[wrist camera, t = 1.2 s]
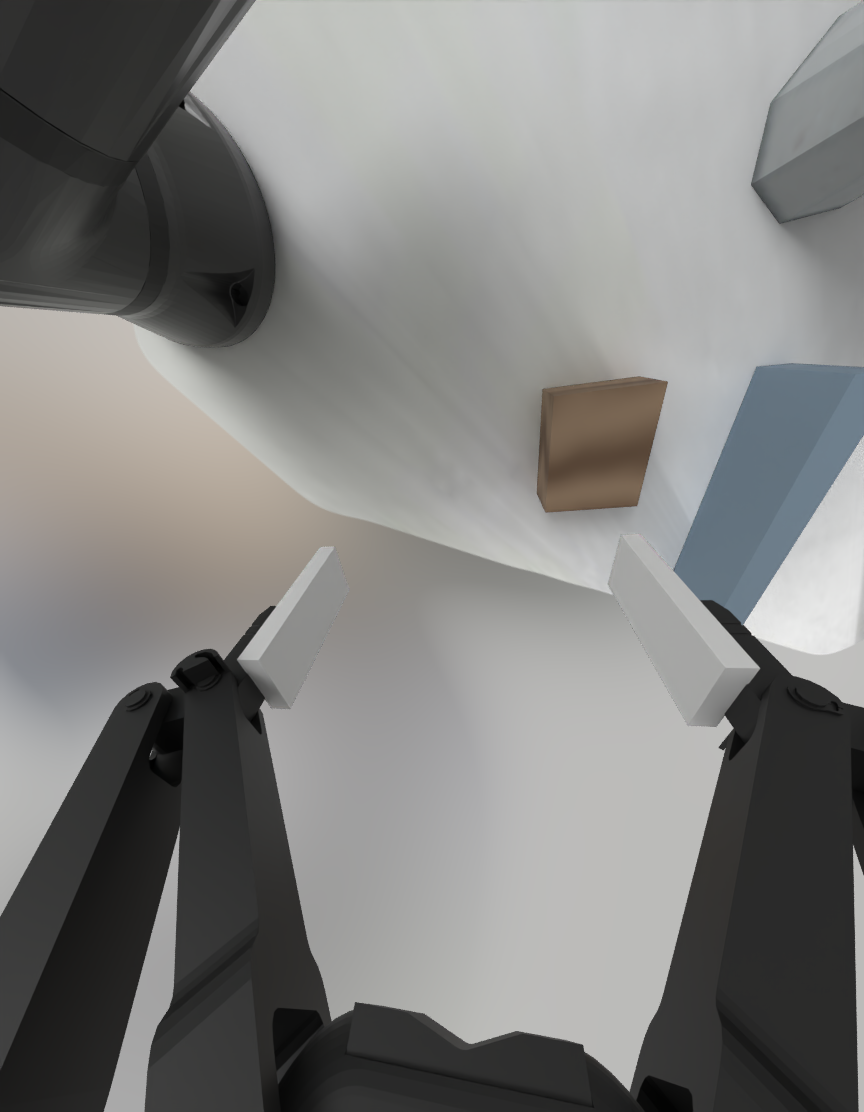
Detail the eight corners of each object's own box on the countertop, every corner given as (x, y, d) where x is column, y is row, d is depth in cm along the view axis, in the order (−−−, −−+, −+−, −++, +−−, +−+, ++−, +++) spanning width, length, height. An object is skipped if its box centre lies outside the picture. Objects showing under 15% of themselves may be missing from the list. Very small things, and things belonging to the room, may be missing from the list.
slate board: (756, 366, 26) (855, 373, 19) (791, 363, 25) (905, 369, 19) (670, 578, 38) (712, 627, 31) (693, 578, 37) (741, 627, 31)
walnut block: (542, 388, 28) (554, 396, 24) (638, 376, 27) (667, 381, 23) (536, 492, 34) (545, 512, 30) (616, 485, 32) (637, 505, 28)
